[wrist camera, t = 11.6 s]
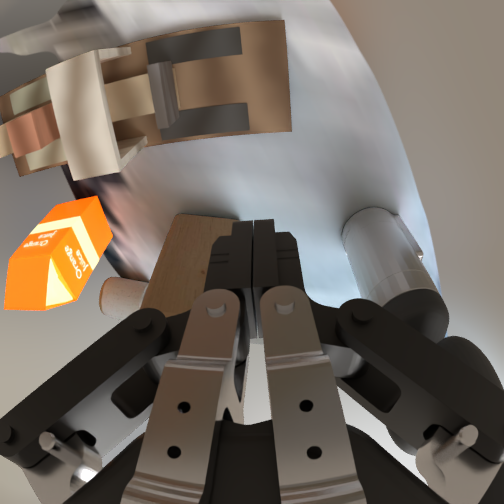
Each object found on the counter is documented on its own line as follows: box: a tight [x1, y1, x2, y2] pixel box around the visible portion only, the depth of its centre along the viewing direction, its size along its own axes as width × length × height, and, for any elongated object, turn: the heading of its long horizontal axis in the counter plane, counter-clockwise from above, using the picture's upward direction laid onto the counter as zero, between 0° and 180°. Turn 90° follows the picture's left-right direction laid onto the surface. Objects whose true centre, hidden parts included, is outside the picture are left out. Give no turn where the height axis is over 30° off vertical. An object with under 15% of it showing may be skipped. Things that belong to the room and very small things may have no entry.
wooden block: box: [140, 214, 239, 317], centre depth 40 cm, size 10×10×20 cm
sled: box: [0, 61, 180, 158], centre depth 31 cm, size 39×7×6 cm, turn 95°
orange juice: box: [4, 196, 113, 310], centre depth 37 cm, size 8×9×20 cm
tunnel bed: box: [0, 20, 292, 181], centre depth 29 cm, size 42×14×11 cm, turn 95°
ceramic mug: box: [99, 277, 149, 321], centre depth 52 cm, size 11×8×8 cm
